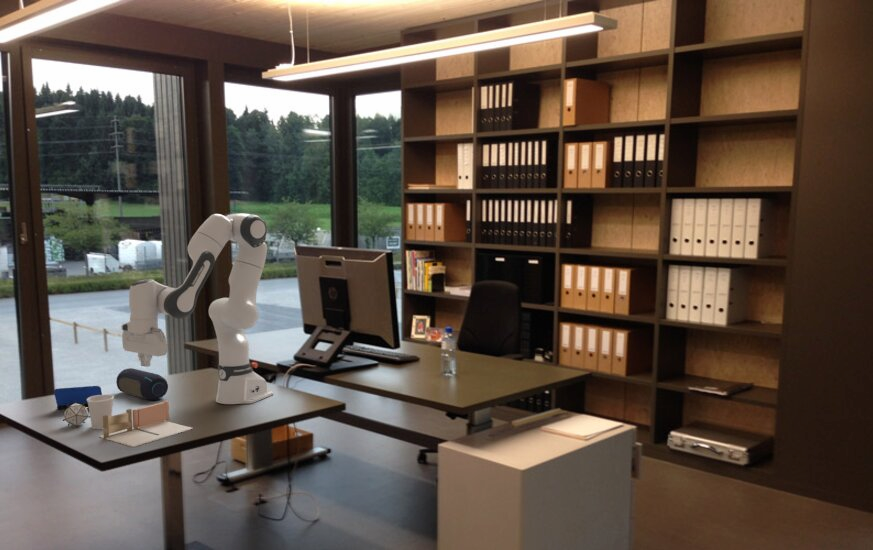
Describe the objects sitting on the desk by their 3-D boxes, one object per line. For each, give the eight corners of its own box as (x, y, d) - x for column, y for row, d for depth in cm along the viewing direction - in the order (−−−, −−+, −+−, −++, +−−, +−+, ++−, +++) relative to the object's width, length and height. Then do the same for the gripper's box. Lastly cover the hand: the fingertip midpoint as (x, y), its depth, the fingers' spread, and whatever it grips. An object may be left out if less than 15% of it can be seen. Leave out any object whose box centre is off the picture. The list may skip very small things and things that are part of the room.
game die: (74, 435, 244) (72, 408, 249) (97, 426, 244) (95, 399, 248) (56, 429, 236) (55, 401, 241) (79, 420, 236) (78, 393, 240)
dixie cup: (105, 431, 237) (103, 401, 236) (82, 429, 238) (80, 400, 237) (120, 423, 245) (119, 395, 244) (98, 422, 246) (97, 393, 245)
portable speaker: (112, 394, 285) (111, 369, 284) (135, 389, 293) (134, 365, 292) (147, 404, 270) (146, 378, 269) (171, 398, 278) (170, 373, 277)
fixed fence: (130, 430, 237) (129, 408, 236) (133, 430, 236) (132, 409, 236) (102, 438, 229) (101, 416, 228) (105, 438, 228) (104, 416, 227)
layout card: (158, 420, 249) (158, 419, 249) (192, 429, 239) (192, 427, 239) (99, 437, 230) (99, 435, 230) (133, 447, 220) (133, 445, 220)
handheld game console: (107, 401, 275) (106, 377, 274) (101, 410, 262) (100, 385, 261) (62, 404, 271) (61, 380, 270) (54, 413, 258) (53, 388, 257)
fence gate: (135, 429, 237) (134, 410, 236) (132, 428, 238) (131, 409, 237) (170, 419, 248) (169, 401, 247) (167, 418, 249) (166, 400, 248)
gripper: (171, 327, 243) (172, 368, 244) (134, 322, 254) (136, 361, 255) (154, 330, 238) (156, 371, 239) (118, 325, 249) (119, 364, 250)
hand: (145, 366), depth 247 cm, fingers closed
